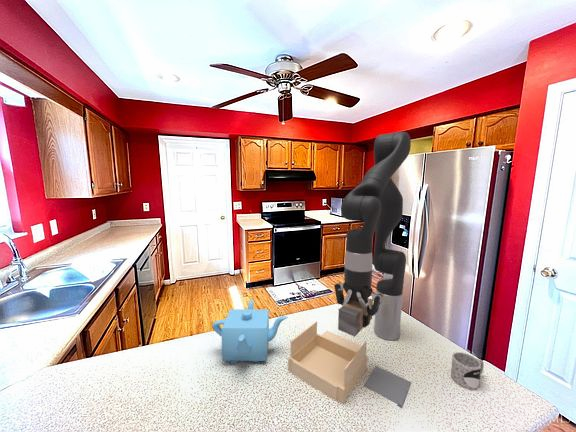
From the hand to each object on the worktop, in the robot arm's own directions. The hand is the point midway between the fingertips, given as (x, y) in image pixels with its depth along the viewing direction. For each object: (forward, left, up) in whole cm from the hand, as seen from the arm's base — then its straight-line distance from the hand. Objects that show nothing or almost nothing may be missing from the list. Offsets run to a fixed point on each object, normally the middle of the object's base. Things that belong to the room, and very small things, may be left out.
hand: (355, 322), depth 70 cm
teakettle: (+13, -31, -17) cm, 38 cm away
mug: (-21, +27, -17) cm, 38 cm away
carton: (+1, -7, -17) cm, 18 cm away
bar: (0, 0, 0) cm, 0 cm away
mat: (-3, +9, -17) cm, 19 cm away
